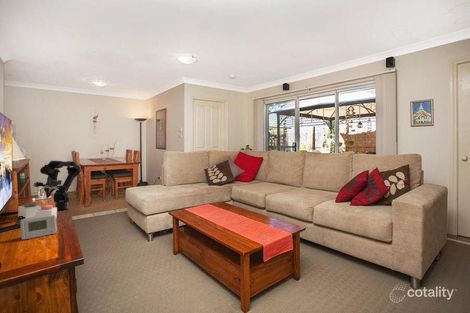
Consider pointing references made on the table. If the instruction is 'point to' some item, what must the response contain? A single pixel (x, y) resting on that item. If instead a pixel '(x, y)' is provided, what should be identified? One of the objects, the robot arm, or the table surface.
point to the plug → (30, 205)
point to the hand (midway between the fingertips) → (47, 198)
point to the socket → (28, 211)
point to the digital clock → (38, 226)
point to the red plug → (46, 207)
